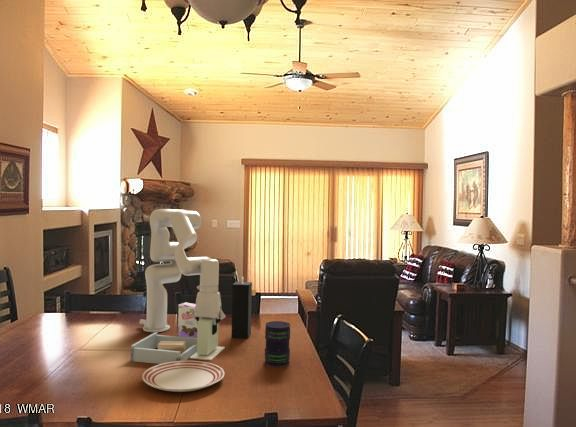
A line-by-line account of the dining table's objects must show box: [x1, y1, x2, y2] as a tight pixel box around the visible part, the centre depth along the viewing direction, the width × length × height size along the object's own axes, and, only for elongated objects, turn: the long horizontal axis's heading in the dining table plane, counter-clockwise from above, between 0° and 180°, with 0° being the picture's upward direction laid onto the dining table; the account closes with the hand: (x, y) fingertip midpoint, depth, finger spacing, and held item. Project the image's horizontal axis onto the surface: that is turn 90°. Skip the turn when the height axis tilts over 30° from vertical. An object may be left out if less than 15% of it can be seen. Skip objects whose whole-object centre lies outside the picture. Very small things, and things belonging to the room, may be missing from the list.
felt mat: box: [189, 345, 225, 361], centre depth 181 cm, size 9×16×1 cm, turn 169°
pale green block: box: [197, 316, 220, 355], centre depth 181 cm, size 4×12×13 cm, turn 169°
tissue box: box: [231, 276, 253, 339], centre depth 206 cm, size 8×8×28 cm
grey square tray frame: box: [130, 332, 197, 365], centre depth 177 cm, size 20×19×6 cm
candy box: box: [177, 301, 198, 338], centre depth 196 cm, size 14×6×16 cm, turn 62°
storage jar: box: [264, 320, 291, 368], centre depth 171 cm, size 10×10×15 cm
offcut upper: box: [157, 341, 186, 353], centre depth 176 cm, size 4×10×3 cm, turn 91°
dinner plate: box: [141, 360, 225, 393], centre depth 151 cm, size 28×27×3 cm
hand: (208, 332), depth 181 cm, fingers closed on pale green block, 4 cm apart
